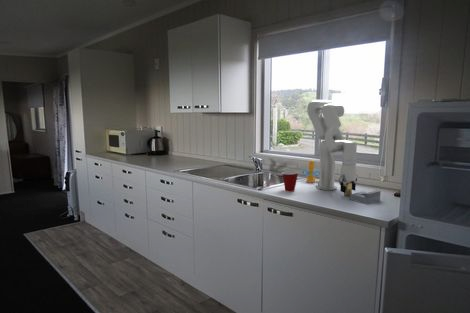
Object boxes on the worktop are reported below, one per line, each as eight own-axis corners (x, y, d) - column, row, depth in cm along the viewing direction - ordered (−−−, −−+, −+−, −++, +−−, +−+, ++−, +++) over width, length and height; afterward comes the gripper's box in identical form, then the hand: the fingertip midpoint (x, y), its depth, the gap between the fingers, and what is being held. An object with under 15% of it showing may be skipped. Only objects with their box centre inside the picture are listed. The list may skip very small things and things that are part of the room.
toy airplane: (301, 182, 231) (301, 161, 229) (303, 179, 240) (303, 159, 239) (318, 183, 227) (319, 162, 225) (320, 180, 236) (321, 160, 234)
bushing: (342, 195, 194) (342, 182, 193) (346, 194, 196) (347, 181, 195) (348, 197, 190) (349, 183, 189) (352, 196, 193) (353, 182, 192)
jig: (350, 199, 185) (350, 190, 184) (362, 196, 192) (362, 187, 191) (368, 203, 176) (368, 194, 176) (380, 200, 183) (380, 191, 183)
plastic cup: (288, 187, 214) (288, 169, 213) (301, 190, 206) (302, 172, 205) (277, 190, 207) (277, 171, 205) (291, 193, 199) (291, 174, 198)
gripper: (352, 160, 199) (351, 188, 201) (334, 163, 189) (333, 191, 191) (363, 162, 193) (362, 190, 195) (345, 164, 183) (344, 194, 185)
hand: (347, 191), depth 193 cm, fingers open, 9 cm apart
